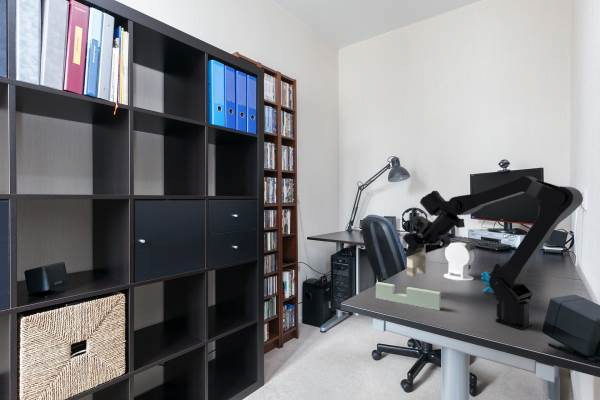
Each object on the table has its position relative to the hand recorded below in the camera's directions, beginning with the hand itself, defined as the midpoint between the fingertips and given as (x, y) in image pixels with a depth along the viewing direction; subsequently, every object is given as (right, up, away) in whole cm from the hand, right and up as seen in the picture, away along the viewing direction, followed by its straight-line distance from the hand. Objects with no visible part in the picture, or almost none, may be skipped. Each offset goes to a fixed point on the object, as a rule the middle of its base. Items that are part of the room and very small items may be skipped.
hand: (412, 254), depth 112 cm
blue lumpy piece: (+28, -14, -2) cm, 31 cm away
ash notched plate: (+1, -7, -1) cm, 7 cm away
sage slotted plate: (-6, -14, -11) cm, 18 cm away
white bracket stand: (+27, -14, +21) cm, 37 cm away
